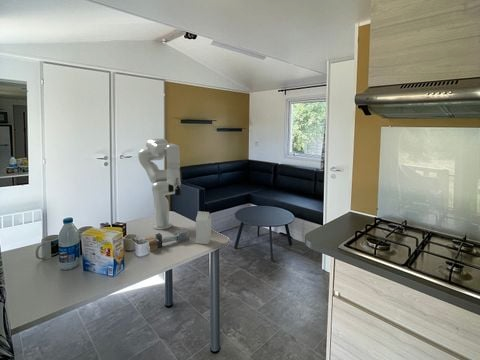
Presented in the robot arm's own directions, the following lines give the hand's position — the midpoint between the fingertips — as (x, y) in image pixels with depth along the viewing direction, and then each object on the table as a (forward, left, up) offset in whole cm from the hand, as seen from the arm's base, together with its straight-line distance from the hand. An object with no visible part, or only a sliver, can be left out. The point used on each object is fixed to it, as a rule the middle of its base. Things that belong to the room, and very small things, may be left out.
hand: (174, 193), depth 168 cm
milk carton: (+16, +11, -28) cm, 34 cm away
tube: (+7, -10, -28) cm, 31 cm away
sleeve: (+7, +1, -28) cm, 29 cm away
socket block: (+7, -18, -28) cm, 34 cm away
